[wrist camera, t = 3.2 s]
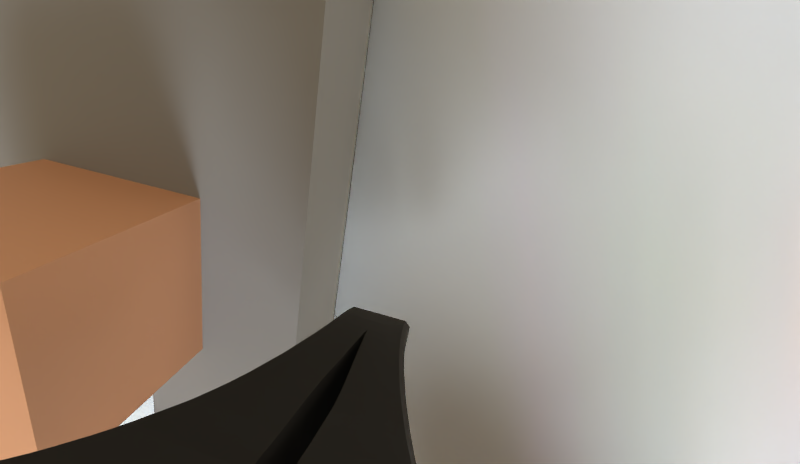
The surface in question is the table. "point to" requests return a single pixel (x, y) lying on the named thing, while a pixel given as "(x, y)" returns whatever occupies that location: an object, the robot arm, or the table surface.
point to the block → (90, 300)
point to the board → (207, 143)
